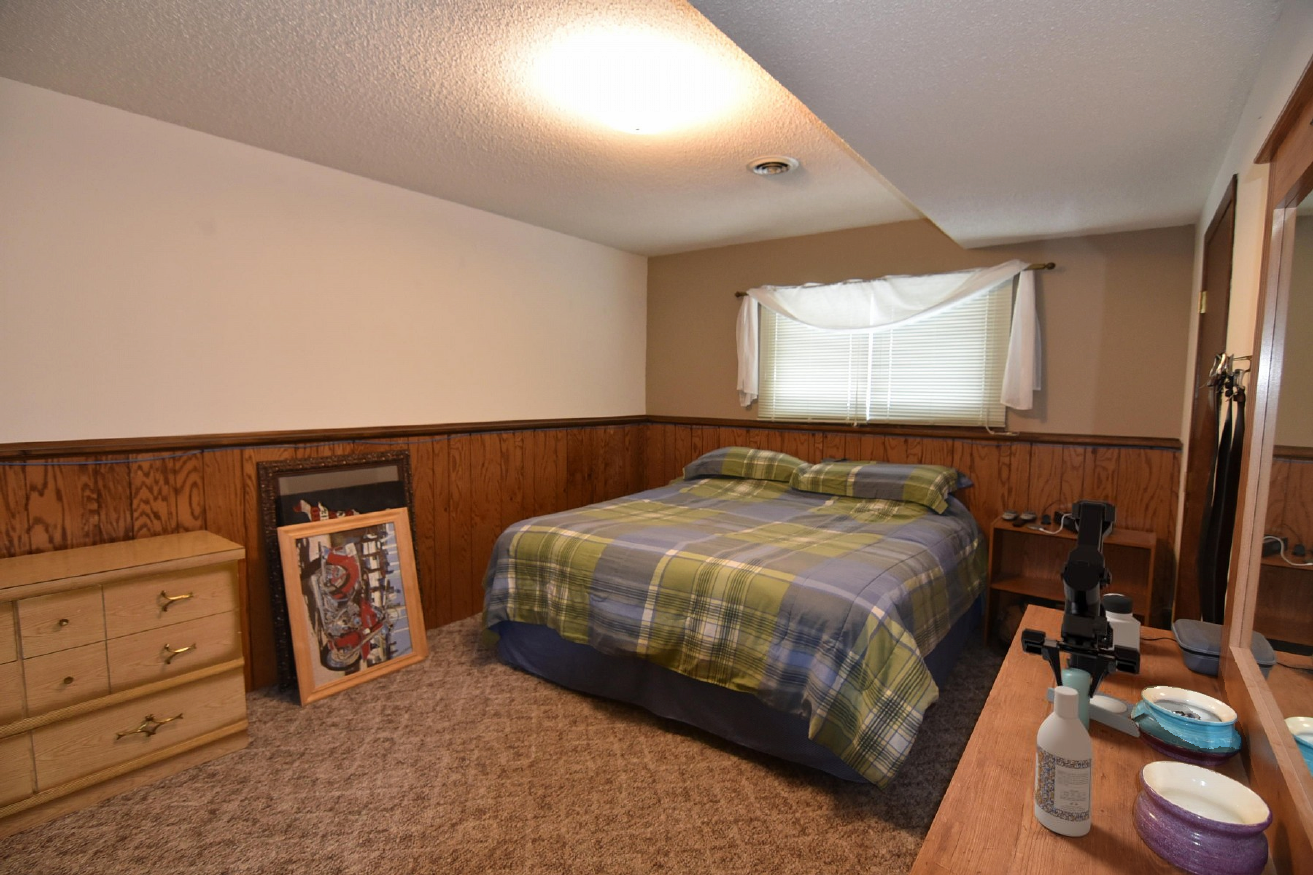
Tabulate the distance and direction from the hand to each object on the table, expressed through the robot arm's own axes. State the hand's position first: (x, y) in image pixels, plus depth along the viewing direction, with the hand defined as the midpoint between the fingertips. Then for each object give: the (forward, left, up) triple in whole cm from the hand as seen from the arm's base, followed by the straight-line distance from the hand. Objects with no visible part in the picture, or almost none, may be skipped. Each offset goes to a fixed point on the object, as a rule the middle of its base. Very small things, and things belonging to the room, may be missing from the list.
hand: (1075, 693), depth 119 cm
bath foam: (+30, -4, -7) cm, 31 cm away
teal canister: (-1, 0, -7) cm, 7 cm away
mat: (-10, +6, -7) cm, 14 cm away
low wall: (-6, +3, -7) cm, 9 cm away
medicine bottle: (-47, +13, -7) cm, 49 cm away
